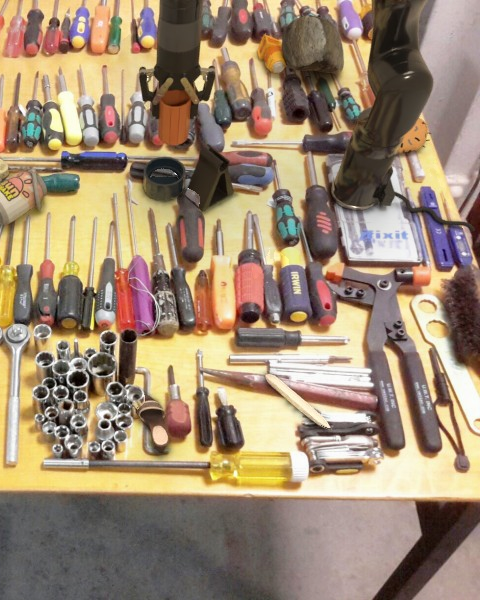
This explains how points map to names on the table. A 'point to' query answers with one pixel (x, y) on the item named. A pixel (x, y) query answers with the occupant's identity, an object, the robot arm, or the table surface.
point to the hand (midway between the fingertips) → (174, 116)
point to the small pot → (174, 117)
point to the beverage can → (20, 195)
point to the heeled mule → (154, 422)
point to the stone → (313, 45)
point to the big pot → (164, 179)
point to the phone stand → (211, 178)
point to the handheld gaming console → (3, 170)
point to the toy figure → (272, 54)
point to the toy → (415, 137)
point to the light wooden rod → (296, 400)
